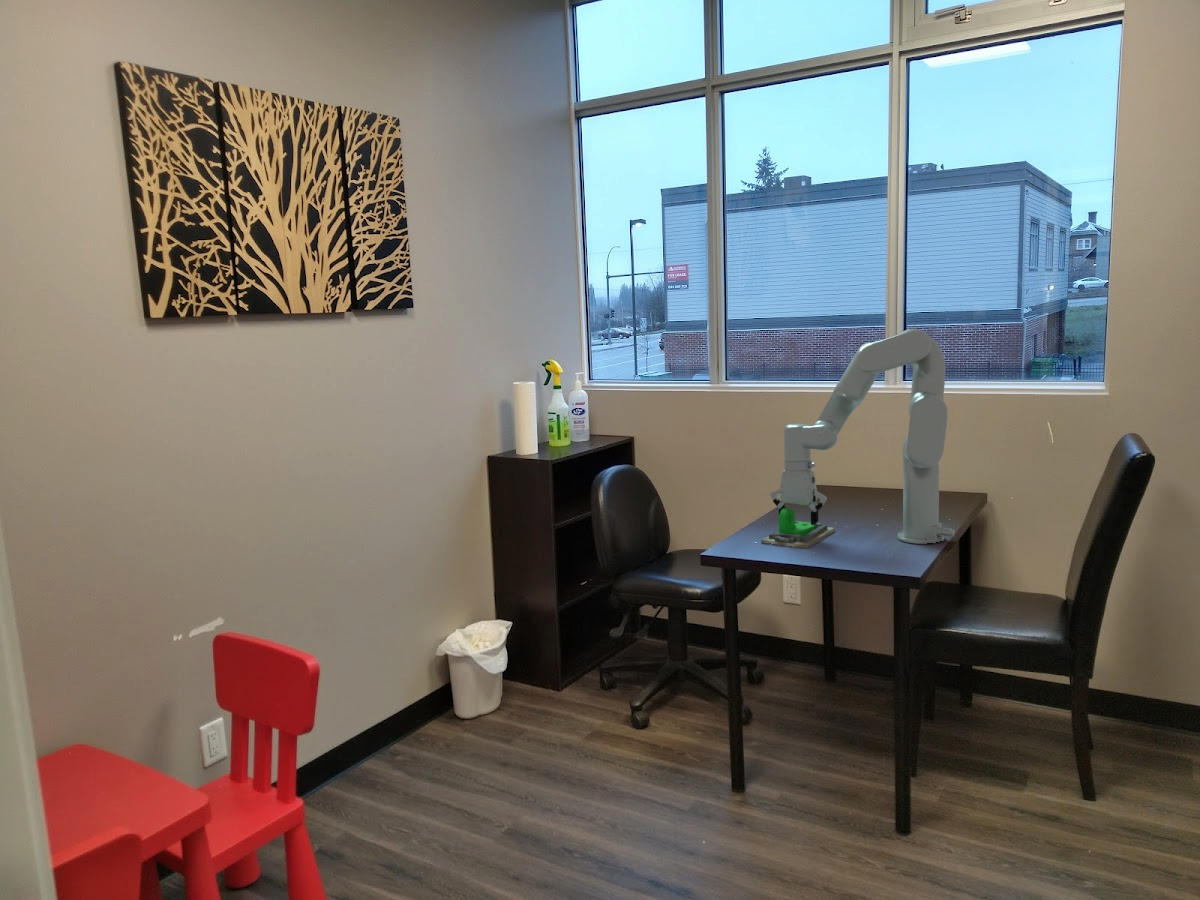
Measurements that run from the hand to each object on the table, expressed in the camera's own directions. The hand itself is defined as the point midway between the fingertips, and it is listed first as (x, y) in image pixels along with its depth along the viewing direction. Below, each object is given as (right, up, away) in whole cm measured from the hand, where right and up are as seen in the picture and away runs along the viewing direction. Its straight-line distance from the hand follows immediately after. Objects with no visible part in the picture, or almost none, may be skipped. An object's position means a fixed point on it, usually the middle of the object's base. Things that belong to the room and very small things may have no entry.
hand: (798, 522), depth 255 cm
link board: (0, -4, +1) cm, 4 cm away
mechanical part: (0, -4, +1) cm, 4 cm away
